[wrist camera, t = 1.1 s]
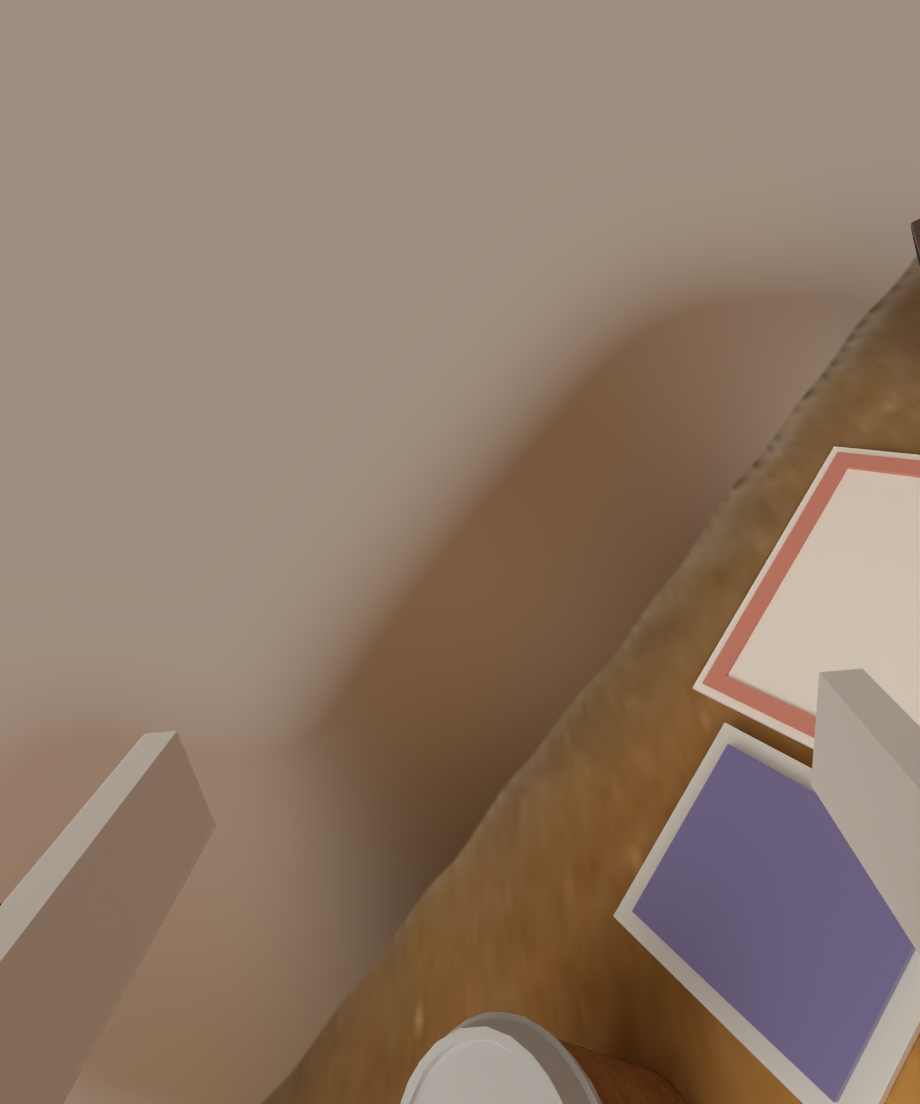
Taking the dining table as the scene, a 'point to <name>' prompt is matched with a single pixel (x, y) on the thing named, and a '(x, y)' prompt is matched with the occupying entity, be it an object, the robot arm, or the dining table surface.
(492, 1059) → the disposable coffee cup
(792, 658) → the marked board
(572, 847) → the dining table surface
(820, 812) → the ink pad
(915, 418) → the dining table surface
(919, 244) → the box
